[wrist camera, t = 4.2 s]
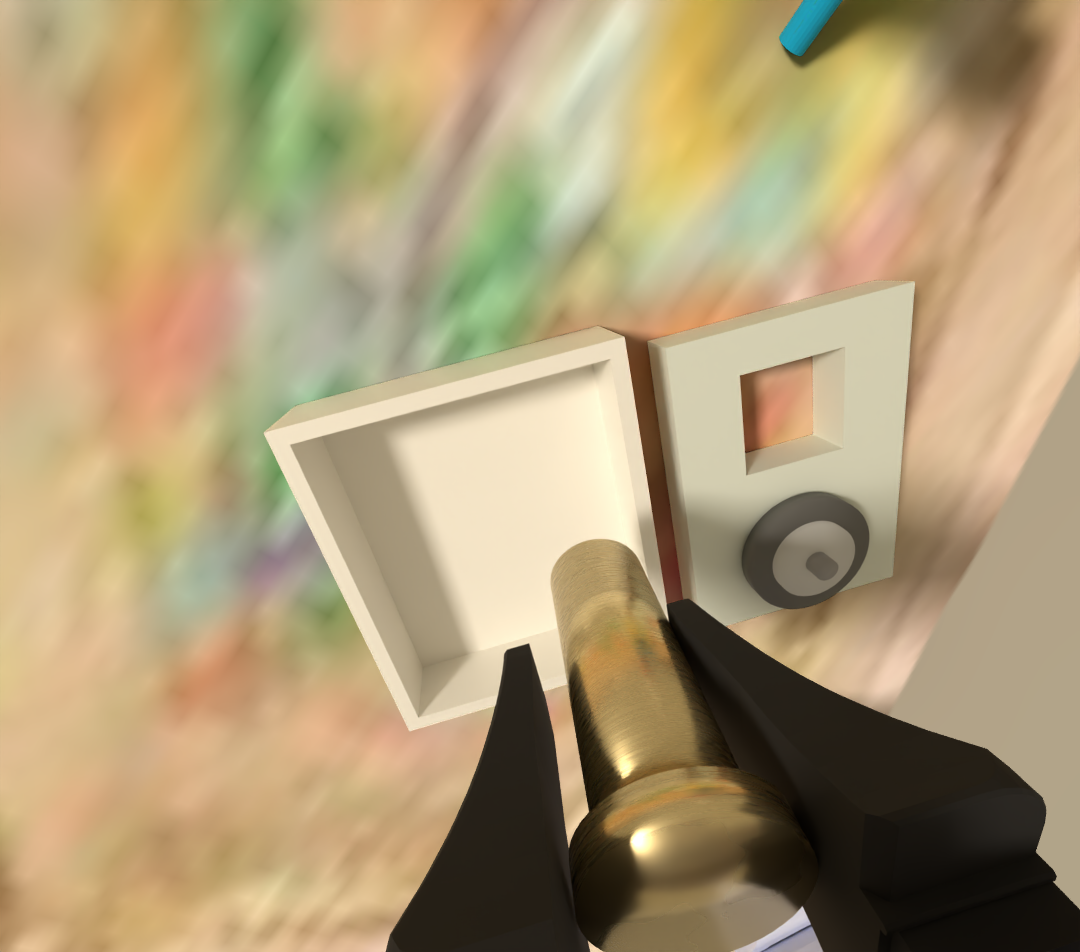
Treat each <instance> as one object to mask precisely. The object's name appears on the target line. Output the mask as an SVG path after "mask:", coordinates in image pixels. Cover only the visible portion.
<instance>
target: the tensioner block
mask: <svg viewBox="0 0 1080 952" xmlns="http://www.w3.org/2000/svg"><path fill="white" fill-rule="evenodd" d="M914 288H915V281H885V280H874V281H870V282H866V283H863V284H859V285H855V286H851V287H848V288H844V289H840V290H836V291H833V292H829V293H825V294H822V295H818V296H814V297H810V298H807V299H803V300H799V301H795V302H792V303H788V304H784V305H780V306H777V307H773V308H769V309H765V310H762V311H758V312H754V313H750V314H747V315H743V316H739V317H735V318H732V319H728V320H724V321H720V322H717V323H713V324H709V325H705V326H702V327H698V328H694V329H690V330H687V331H683V332H679V333H675V334H672V335H668V336H664V337H660V338H657V339H653V340H649V341H647V344H648V351H649V358H650V365H651V372H652V379H653V387H654V394H655V401H656V408H657V415H658V422H659V430H660V437H661V444H662V451H663V458H664V465H665V473H666V480H667V487H668V494H669V501H670V508H671V516H672V523H673V530H674V537H675V544H676V551H677V559H678V566H679V573H680V580H681V587H682V594H683V600H684V599H687V598H688V599H690V600H692V601H693V602H694V603H696V604H697V605H698V606H699V607H701V608H702V609H703V610H705V611H706V612H707V613H708V614H710V615H711V616H712V617H714V618H715V619H716V620H718V621H719V622H720V623H722V624H723V625H724V626H728V625H731V624H735V623H738V622H741V621H745V620H748V619H751V618H755V617H758V616H762V615H765V614H768V613H772V612H775V611H778V610H782V609H799V608H805V607H810V606H813V605H816V604H818V603H821V602H823V601H825V600H827V599H829V598H830V597H832V596H834V595H835V594H836V593H839V592H842V591H846V590H849V589H852V588H856V587H859V586H862V585H866V584H869V583H873V582H876V581H879V580H883V579H886V578H889V577H893V567H894V554H895V540H896V527H897V514H898V500H899V487H900V474H901V461H902V447H903V434H904V421H905V407H906V394H907V381H908V368H909V354H910V341H911V328H912V314H913V301H914ZM810 356H813V434H812V435H808V436H805V437H801V438H798V439H794V440H791V441H787V442H783V443H780V444H776V445H773V446H769V447H766V448H762V449H759V450H755V451H751V452H748V453H745V447H744V432H743V416H742V401H741V386H740V375H744V374H748V373H751V372H755V371H759V370H762V369H766V368H770V367H773V366H777V365H781V364H784V363H788V362H792V361H795V360H799V359H803V358H806V357H810Z"/></svg>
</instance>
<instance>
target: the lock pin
mask: <svg viewBox="0 0 1080 952" xmlns="http://www.w3.org/2000/svg"><path fill="white" fill-rule="evenodd" d="M550 586H551V592H552V597H553V603H554V609H555V615H556V621H557V627H558V633H559V638H560V644H561V650H562V656H563V662H564V668H565V673H566V679H567V685H568V691H569V697H570V703H571V709H572V714H573V720H574V726H575V732H576V738H577V744H578V749H579V755H580V761H581V767H582V773H583V779H584V785H585V790H586V796H587V802H588V808H589V813H588V814H587V815H586V816H585V818H584V819H583V820H582V821H581V823H580V824H579V826H578V827H577V829H576V830H575V832H574V835H573V837H572V839H571V842H570V847H569V868H570V876H571V884H572V892H573V900H574V909H575V916H576V921H577V924H578V927H579V929H580V931H581V932H582V934H583V935H584V936H585V938H586V939H587V940H588V941H589V942H590V943H592V944H593V945H594V946H595V947H597V948H599V949H600V950H602V951H604V952H731V951H734V950H737V949H739V948H742V947H744V946H747V945H749V944H751V943H753V942H755V941H757V940H759V939H761V938H763V937H765V936H766V935H768V934H770V933H772V932H773V931H775V930H776V929H777V928H779V927H780V926H782V925H783V924H784V923H786V922H787V921H788V920H789V919H790V918H792V917H793V916H794V915H795V914H796V913H797V912H798V911H799V910H800V909H801V908H802V906H803V905H804V904H805V902H806V901H807V900H808V898H809V897H810V895H811V893H812V891H813V889H814V887H815V884H816V881H817V876H818V861H817V858H816V855H815V852H814V850H813V848H812V846H811V845H810V843H809V841H808V839H807V837H806V835H805V833H804V832H803V830H802V828H801V826H800V824H799V822H798V821H797V819H796V817H795V815H794V813H793V811H792V809H791V808H790V806H789V804H788V802H787V800H786V799H785V797H784V795H783V794H782V793H781V792H780V791H779V790H778V789H777V787H775V786H774V785H773V784H771V783H770V782H769V781H767V780H766V779H764V778H762V777H760V776H758V775H756V774H753V773H750V772H747V771H744V770H740V769H739V767H738V765H737V763H736V761H735V759H734V757H733V755H732V753H731V751H730V749H729V746H728V744H727V742H726V740H725V738H724V736H723V734H722V732H721V730H720V728H719V726H718V724H717V721H716V719H715V717H714V715H713V713H712V711H711V709H710V707H709V705H708V703H707V701H706V699H705V696H704V694H703V692H702V690H701V688H700V686H699V684H698V682H697V680H696V678H695V676H694V674H693V671H692V669H691V667H690V665H689V663H688V661H687V659H686V657H685V655H684V653H683V651H682V649H681V646H680V644H679V642H678V640H677V638H676V636H675V634H674V632H673V630H672V628H671V626H670V624H669V621H668V619H667V617H666V615H665V613H664V611H663V609H662V607H661V605H660V603H659V601H658V599H657V596H656V594H655V592H654V590H653V588H652V586H651V584H650V582H649V580H648V578H647V576H646V574H645V571H644V569H643V567H642V565H641V563H640V561H639V559H638V557H637V556H636V554H635V553H634V552H633V551H632V550H631V549H630V548H629V547H627V546H626V545H624V544H622V543H620V542H617V541H614V540H609V539H592V540H587V541H584V542H581V543H579V544H576V545H574V546H573V547H571V548H570V549H568V550H567V551H566V552H564V553H563V554H562V555H561V556H560V558H559V559H558V560H557V562H556V563H555V565H554V567H553V569H552V573H551V578H550Z"/></svg>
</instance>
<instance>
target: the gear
mask: <svg viewBox="0 0 1080 952" xmlns="http://www.w3.org/2000/svg"><path fill="white" fill-rule="evenodd" d="M841 2H842V0H803V2H802V3H801V5H800V6H799V8H798V9H797V11H796V12H795V14H794V15H793V17H792V18H791V20H790V21H789V23H788V24H787V26H786V27H785V29H784V30H783V32H782V33H781V35H780V36H779V39H780V41H781V43H782V44H783V46H784V47H785V48H786V49H787V50H789V51H790V52H791V53H793V54H795V55H798V56H802V55H803V54H804V53H805V51H806V50H807V49H808V47H809V46H810V45H811V43H812V42H813V40H814V39H815V38H816V36H817V35H818V34H819V32H820V31H821V29H822V28H823V27H824V25H825V24H826V23H827V21H828V20H829V18H830V17H831V16H832V14H833V13H834V12H835V10H836V9H837V7H838V6H839V5H840V3H841Z"/></svg>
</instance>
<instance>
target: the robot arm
mask: <svg viewBox="0 0 1080 952" xmlns="http://www.w3.org/2000/svg"><path fill="white" fill-rule="evenodd" d="M666 606H667V613H668V620H669V624H670V626H671V628H672V630H673V632H674V634H675V636H676V638H677V640H678V642H679V644H680V646H681V649H682V651H683V653H684V655H685V657H686V659H687V661H688V663H689V665H690V667H691V669H692V671H693V674H694V676H695V678H696V680H697V682H698V684H699V686H700V688H701V690H702V692H703V694H704V696H705V699H706V701H707V703H708V705H709V707H710V709H711V711H712V713H713V715H714V717H715V719H716V721H717V724H718V726H719V728H720V730H721V732H722V734H723V736H724V738H725V740H726V742H727V744H728V746H729V749H730V751H731V753H732V755H733V757H734V759H735V761H736V763H737V765H738V767H739V769H740V770H744V771H747V772H750V773H753V774H756V775H758V776H760V777H762V778H764V779H766V780H767V781H769V782H770V783H771V784H773V785H774V786H775V787H777V789H778V790H779V791H780V792H781V793H782V794H783V795H784V797H785V799H786V800H787V802H788V804H789V806H790V808H791V809H792V811H793V813H794V815H795V817H796V819H797V821H798V822H799V824H800V826H801V828H802V830H803V832H804V833H805V835H806V837H807V839H808V841H809V843H810V845H811V846H812V848H813V850H814V852H815V855H816V858H817V861H818V876H817V881H816V884H815V887H814V889H813V891H812V893H811V895H810V897H809V898H808V900H807V901H806V902H805V904H804V905H803V906H802V908H801V909H800V910H799V911H798V912H797V913H796V914H795V915H794V916H793V917H792V918H790V919H789V920H788V921H787V922H786V923H784V924H783V925H782V926H780V927H779V928H777V929H776V930H775V931H773V932H772V933H770V934H768V935H766V936H765V937H763V938H761V939H759V940H757V941H755V942H753V943H751V944H749V945H747V946H744V947H742V948H739V949H737V950H734V951H735V952H1080V909H1079V908H1078V907H1077V906H1076V905H1075V904H1074V903H1073V902H1072V901H1071V900H1070V899H1069V898H1068V897H1067V896H1066V895H1065V894H1064V893H1063V892H1062V891H1061V890H1060V889H1059V888H1058V887H1057V886H1056V885H1055V883H1053V881H1055V880H1056V877H1057V876H1056V874H1055V872H1054V870H1053V869H1052V868H1051V867H1050V866H1049V865H1048V864H1047V863H1046V862H1045V861H1044V860H1043V859H1042V858H1041V857H1040V856H1039V855H1038V854H1037V853H1036V849H1037V846H1038V843H1039V840H1040V836H1041V833H1042V830H1043V827H1044V824H1045V817H1046V806H1045V803H1044V800H1043V798H1042V797H1041V796H1040V795H1039V794H1038V793H1037V792H1036V791H1035V790H1033V789H1032V788H1031V787H1030V786H1029V785H1028V784H1027V783H1026V782H1025V781H1024V780H1023V779H1022V778H1021V777H1020V776H1018V775H1017V774H1016V773H1015V772H1014V771H1013V770H1012V769H1011V768H1010V767H1009V766H1007V765H1006V764H1005V763H1004V762H1002V761H1001V760H1000V759H999V758H997V757H996V756H995V755H993V754H992V753H991V752H990V751H989V750H988V749H985V748H982V747H979V746H976V745H973V744H969V743H966V742H963V741H960V740H956V739H953V738H950V737H947V736H944V735H940V734H937V733H934V732H931V731H928V730H925V729H922V728H919V727H917V726H914V725H911V724H909V723H906V722H903V721H901V720H897V719H895V718H892V717H890V716H888V715H885V714H883V713H880V712H878V711H875V710H873V709H871V708H868V707H866V706H864V705H861V704H859V703H857V702H855V701H852V700H850V699H848V698H845V697H843V696H841V695H839V694H837V693H835V692H833V691H830V690H828V689H826V688H824V687H822V686H821V685H819V684H817V683H815V682H813V681H811V680H809V679H807V678H805V677H804V676H802V675H800V674H798V673H796V672H795V671H793V670H791V669H790V668H788V667H786V666H784V665H783V664H781V663H780V662H778V661H776V660H775V659H773V658H771V657H770V656H768V655H767V654H765V653H764V652H762V651H760V650H759V649H757V648H756V647H754V646H753V645H751V644H750V643H749V642H747V641H746V640H744V639H743V638H741V637H740V636H738V635H737V634H735V633H734V632H733V631H731V630H730V629H728V628H727V627H726V626H724V625H723V624H722V623H720V622H719V621H718V620H716V619H715V618H714V617H712V616H711V615H710V614H708V613H707V612H706V611H705V610H703V609H702V608H701V607H699V606H698V605H697V604H696V603H694V602H693V601H692V600H690V599H688V598H687V599H684V600H680V601H677V602H673V603H669V604H666ZM386 952H590V949H589V944H588V940H587V939H586V938H585V936H584V935H583V934H582V932H581V931H580V929H579V927H578V924H577V921H576V916H575V909H574V900H573V892H572V884H571V876H570V868H569V848H568V842H567V836H566V829H565V822H564V814H563V806H562V797H561V789H560V781H559V773H558V765H557V757H556V748H555V741H554V734H553V730H552V725H551V721H550V716H549V712H548V707H547V703H546V698H545V695H544V691H543V688H542V685H541V681H540V678H539V675H538V671H537V668H536V664H535V661H534V658H533V654H532V651H531V648H530V644H529V643H528V644H525V645H521V646H518V647H514V648H511V649H507V650H506V652H505V653H504V661H503V670H502V676H501V682H500V687H499V692H498V697H497V701H496V705H495V709H494V714H493V718H492V722H491V725H490V728H489V732H488V735H487V738H486V742H485V745H484V748H483V751H482V754H481V757H480V760H479V763H478V766H477V769H476V771H475V774H474V776H473V779H472V782H471V784H470V787H469V789H468V792H467V794H466V796H465V799H464V801H463V803H462V805H461V808H460V810H459V812H458V814H457V817H456V819H455V821H454V823H453V825H452V827H451V829H450V831H449V834H448V836H447V838H446V839H445V841H444V843H443V845H442V847H441V849H440V851H439V853H438V854H437V856H436V858H435V860H434V862H433V864H432V866H431V868H430V869H429V871H428V873H427V875H426V877H425V879H424V880H423V882H422V884H421V885H420V887H419V889H418V890H417V892H416V894H415V895H414V897H413V899H412V900H411V902H410V903H409V905H408V907H407V908H406V910H405V911H404V913H403V915H402V916H401V918H400V920H399V921H398V923H397V924H396V926H395V928H394V929H393V931H392V932H391V934H390V937H389V941H388V945H387V949H386Z"/></svg>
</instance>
